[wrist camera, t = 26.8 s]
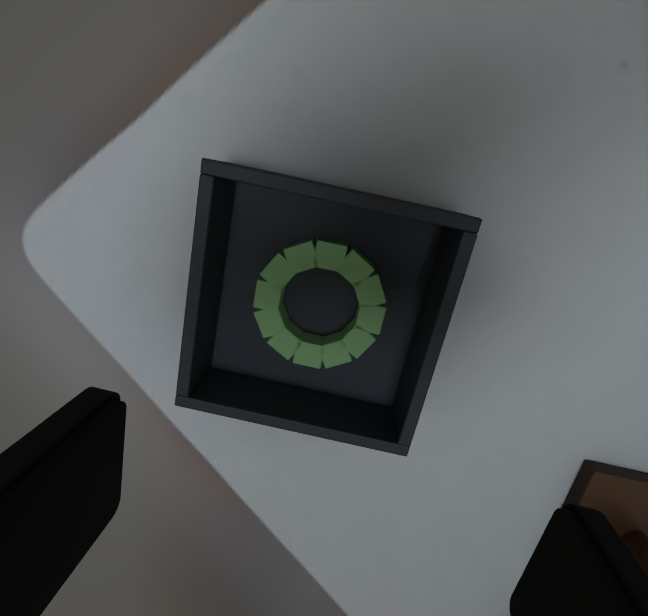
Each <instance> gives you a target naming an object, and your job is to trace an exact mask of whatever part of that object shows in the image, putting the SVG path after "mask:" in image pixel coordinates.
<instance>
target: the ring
mask: <svg viewBox="0 0 648 616" xmlns="http://www.w3.org/2000/svg"><path fill="white" fill-rule="evenodd" d="M347 248H348V243H347V242H343V241H338V240H334V239H329V238H325V237H319V239H318V240H317V243H316V240H315V238H314V237H312V238H309V239H306V240H303V241H299V242H296V243H293V244H290V245H288V246H287V247H286V248H285V249H282V250H281V251H279V252H278V253H277V254H276V256H275V257H274V258H273V259H272V260H271V261H270V263H269V264H268V265H267V266H266V267H265V268H264V270H263V271H262V272H261V273H260V276H261V277H260V278H259V279H258V280H257V283H256V289H255V296H254V302H253V307H254V308H257V309H256V310H255V311H254V316H255V318H256V321H257V323H258V326H259V328H260V331H261V334H262V336H263V338H267V337H269V339H268V341H267V343H268V344H269V345H270V346H271V347H273V348H274V349H275V350H276V351H277V352H279V353H280V354H281V355H282V356H283V357H285V358H286V359H287V360H289V359H290V358H291V357H292V356H293V355H294V358H293V363H295V364H300V365H304V366H309V367H314V368H318V369H320V368H321V363H322V361H323V364H324V366H325V368H329V367H333V366H337V365H341V364H344V363H348V362H351V361H352V355H353V356H354V357H355V358H358V357H359V356H360V355H361V354H362V353H363V352H364V351H365V350H367V349H368V348H369V347H370V346H371V345H372V344H373V343H374V342H375V341H376V334H377V335H379V334H380V331H381V327H382V324H383V320H384V316H385V312H386V305H385V303H386V298H385V295H384V291H383V288H382V285H381V281H380V278H379V274H378V271H377V269H374V265H373V263H372V262H371V261H370V260H369V259H367V258H366V257H365V256H364V255H363V254H362V253H361V252H360V251H359V250H358V249H357V248H355V247H354V246H352V247H351V248H350V249H349V250H348V251H347ZM315 267H318V268H322V269H327V270H331V271H336V272H338V273H340V274H341V275H342V276H343V277H344V278H345V279H346V280H347V281H348V282H350V283H351V284H352V285H353V286H354V289H355V292H356V296H357V299H358V302H359V303H358V307H357V311H356V315H355V318H354V319H353V320H352V321H351V322H350V323H349V324H348V325H347V326H346V327H345V328H344V329H343V330H342V331H341V332H337V333H334V334H330V335H327V336H319V335H314V334H310V333H305V332H303V331H302V330H301V329H300V328H298V327H297V326H296V325H295V324H294V323H293V322H291V321H290V320H289V317H288V314H287V312H286V309H285V306H284V304H283V298H284V293H285V287H286V284H287V283H288V282H289V281H290V280H291V279H292V277H293V276H294V275H295V274H296V273H299V272H303V271H306V270H309V269H312V268H315Z"/></svg>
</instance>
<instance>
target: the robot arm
mask: <svg viewBox="0 0 648 616" xmlns="http://www.w3.org/2000/svg"><path fill="white" fill-rule="evenodd" d="M125 420H126V403H125V402H123V401H120V395H119V394H118V393H116V392H112V391H108V390H104V389H100V388H96V387H89V388H87V389H85V390H84V391H83V392H81V393H80V394H79V395H77V396H76V397H75V398H73V399H72V400H71V401H69V402H68V403H67V404H65V405H64V406H63V407H62V408H60V409H59V410H58V411H56V412H55V413H54V414H52V415H51V416H50V417H48V418H47V419H46V420H44V421H43V422H42V423H41V424H39V425H38V426H37V427H36V428H34V429H33V430H32V431H30V432H29V433H27V434H26V435H25V436H24V437H22V438H21V439H20V440H19V441H17V442H16V443H14V444H13V445H12V446H10V447H9V448H8V449H6V450H5V451H4V452H2V453H1V454H0V616H40V615H41V614H42V612H43V611H44V610H45V608H46V607H47V605H48V604H49V603H50V602H51V600H52V599H53V597H54V596H55V595H56V593H57V592H58V591H59V589H60V588H61V587H62V585H63V584H64V582H65V581H66V580H67V578H68V577H69V576H70V574H71V573H72V572H73V570H74V569H75V568H76V566H77V565H78V564H79V562H80V561H81V560H82V558H83V557H84V555H85V554H86V553H87V551H88V550H89V549H90V547H91V546H92V545H93V543H94V542H95V541H96V539H97V538H98V537H99V535H100V534H101V532H102V531H103V530H104V528H105V527H106V526H107V524H108V523H109V521H110V520H111V519H112V517H113V516H114V514H115V512H116V510H117V508H118V505H119V502H120V496H121V480H122V467H123V451H124V435H125ZM510 614H511V616H648V576H647V574H646V573H645V572H644V570H643V569H642V567H641V566H640V564H639V563H638V562H637V560H636V559H635V557H634V556H633V555H632V553H631V552H630V550H629V549H628V548H627V546H626V545H625V543H624V542H623V541H622V539H621V538H620V536H619V535H618V533H617V532H616V531H615V529H614V528H613V526H612V525H611V524H610V522H609V521H608V519H607V518H606V517H605V515H604V514H603V513H602V512H601V511H599V510H597V509H592V508H588V507H584V506H580V505H576V504H572V503H568V504H566V505H564V506H563V508H558V509H557V510H555V512H554V513H553V515H552V517H551V519H550V521H549V523H548V525H547V527H546V529H545V531H544V533H543V535H542V537H541V539H540V541H539V543H538V545H537V547H536V549H535V551H534V553H533V554H532V556H531V558H530V560H529V562H528V564H527V566H526V568H525V570H524V572H523V574H522V576H521V578H520V580H519V582H518V584H517V586H516V588H515V590H514V592H513V594H512V596H511V599H510Z"/></svg>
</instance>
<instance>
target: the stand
mask: <svg viewBox="0 0 648 616" xmlns="http://www.w3.org/2000/svg"><path fill="white" fill-rule="evenodd" d="M568 503H572V504H576V505H580V506H584V507H588V508H592V509H597V510H599V511H601V512H602V513H603V514H604V515H605V517H606V518H607V519H608V521H609V522H610V524H611V525H612V526H613V528H614V529H615V531H616V532H617V533H618V535H619V536H620V538H621V539H622V541H623V542H624V543H625V545H626V546H627V548H628V549H629V550H630V552H631V553H632V555H633V556H634V557H635V559H636V560H637V562H638V563H639V564H640V566H641V567H642V569H643V570H644V572H645V573H646V574H647V576H648V474H647V473H642V472H637V471H633V470H628V469H624V468H619V467H615V466H610V465H606V464H601V463H597V462H592V461H588V460H585V462H584V464H583V466H582V468H581V470H580V472H579V474H578V476H577V478H576V480H575V483H574V485H573V487H572V489H571V491H570V493H569V495H568V497H567V499H566V501H565V503H564V505H566V504H568Z"/></svg>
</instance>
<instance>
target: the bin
mask: <svg viewBox="0 0 648 616" xmlns="http://www.w3.org/2000/svg"><path fill="white" fill-rule="evenodd" d="M200 172H201V173H202V174H200V180H199V189H198V198H197V208H196V217H195V226H194V235H193V244H192V253H191V262H190V272H189V281H188V290H187V299H186V308H185V317H184V327H183V336H182V345H181V354H180V363H179V372H178V381H177V391H176V394H177V395H176V399H175V405H176V406H181V407H185V408H190V409H194V410H199V411H203V412H208V413H212V414H217V415H221V416H226V417H230V418H235V419H239V420H244V421H248V422H253V423H258V424H262V425H267V426H271V427H276V428H280V429H285V430H289V431H294V432H298V433H303V434H307V435H312V436H316V437H321V438H325V439H330V440H334V441H339V442H343V443H348V444H352V445H357V446H361V447H366V448H370V449H375V450H380V451H384V452H389V453H393V454H398V455H402V456H407V454H408V451H409V448H410V445H411V441H412V438H413V435H414V432H415V429H416V426H417V423H418V420H419V416H420V413H421V410H422V407H423V404H424V401H425V398H426V394H427V391H428V388H429V385H430V382H431V379H432V376H433V373H434V369H435V366H436V363H437V360H438V357H439V354H440V351H441V348H442V344H443V341H444V338H445V335H446V332H447V329H448V326H449V322H450V319H451V316H452V313H453V310H454V307H455V304H456V301H457V297H458V294H459V291H460V288H461V285H462V282H463V279H464V275H465V272H466V269H467V266H468V263H469V260H470V257H471V254H472V250H473V247H474V244H475V241H476V238H477V234H476V233H478V231H479V228H480V225H481V222H482V219H481V218H477V217H473V216H470V215H466V214H462V213H458V212H454V211H449V210H445V209H440V208H435V207H431V206H426V205H422V204H417V203H413V202H408V201H403V200H399V199H394V198H390V197H385V196H380V195H376V194H371V193H367V192H362V191H357V190H353V189H348V188H344V187H339V186H334V185H330V184H325V183H321V182H316V181H311V180H307V179H302V178H298V177H293V176H288V175H284V174H279V173H275V172H270V171H266V170H261V169H256V168H252V167H247V166H243V165H238V164H233V163H228V162H223V161H217V160H211V159H205V158H202V162H201V171H200ZM312 237H314V238H315V240H316V243H317V240H318V239H319V237H325V238H329V239H334V240H338V241H343V242H347V243H348V248H347V251H348V250H349V249H350V248H351V247H352V246H354V247H355V248H357V249H358V250H359V251H360V252H361V253H362V254H363V255H364V256H365V257H366V258H367V259H369V260H370V261H371V262H372V263H373V265H374V269H377V271H378V274H379V278H380V281H381V285H382V288H383V291H384V295H385V298H386V303H385V305H386V312H385V316H384V320H383V324H382V327H381V331H380V334H379V335H377V334H376V341H375V342H374V343H373V344H372V345H371V346H370V347H369V348H368V349H367V350H365V351H364V352H363V353H362V354H361V355H360V356H359V357H358V358H355V357H354V356H353V355H352V361H351V362H348V363H344V364H341V365H337V366H333V367H329V368H325V366H324V364H323V361H322V363H321V368H320V369H318V368H314V367H309V366H304V365H300V364H295V363H293V358H294V355H293V356H292V357H291V358H290V359H289V360H287V359H286V358H285V357H283V356H282V355H281V354H280V353H279V352H277V351H276V350H275V349H274V348H273V347H271V346H270V345H269V344H268V343H267V341H268V339H269V337H267V338H263V336H262V334H261V331H260V328H259V326H258V323H257V321H256V318H255V316H254V311H255V310H256V309H257V308H254V307H253V302H254V296H255V289H256V283H257V280H258V279H259V278H260V277H261V276H260V273H261V272H262V271H263V270H264V268H265V267H266V266H267V265H268V264H269V263H270V261H271V260H272V259H273V258H274V257H275V256H276V254H277V253H278V252H279V251H281V250H282V249H285V248H286V247H287V246H288V245H290V244H293V243H296V242H299V241H303V240H306V239H309V238H312ZM358 303H359V302H358V299H357V296H356V292H355V289H354V286H353V285H352V284H351V283H350V282H348V281H347V280H346V279H345V278H344V277H343V276H342V275H341V274H340V273H338V272H336V271H331V270H327V269H322V268H318V267H315V268H312V269H309V270H306V271H303V272H299V273H296V274H295V275H294V276H293V277H292V279H291V280H290V281H289V282H288V283H287V284H286V287H285V293H284V298H283V304H284V306H285V309H286V312H287V314H288V317H289V320H290V321H291V322H293V323H294V324H295V325H296V326H297V327H298V328H300V329H301V330H302V331H303V332H305V333H310V334H314V335H319V336H327V335H330V334H334V333H337V332H341V331H342V330H343V329H344V328H345V327H346V326H347V325H348V324H349V323H350V322H351V321H352V320H353V319H354V318H355V315H356V311H357V307H358Z"/></svg>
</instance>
